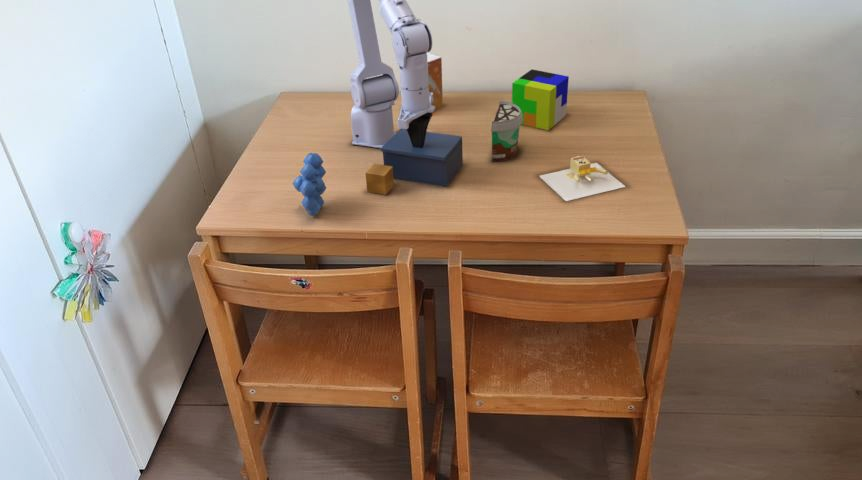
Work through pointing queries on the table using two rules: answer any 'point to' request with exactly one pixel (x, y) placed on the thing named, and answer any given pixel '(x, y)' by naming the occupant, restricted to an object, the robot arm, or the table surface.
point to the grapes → (311, 183)
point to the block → (379, 179)
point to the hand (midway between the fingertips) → (418, 146)
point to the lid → (433, 146)
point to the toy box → (425, 167)
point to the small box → (435, 79)
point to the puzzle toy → (541, 98)
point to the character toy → (581, 180)
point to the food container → (505, 131)
